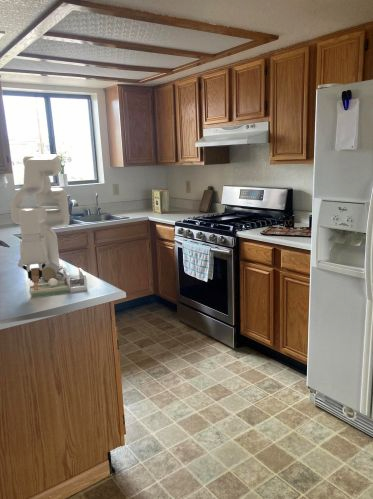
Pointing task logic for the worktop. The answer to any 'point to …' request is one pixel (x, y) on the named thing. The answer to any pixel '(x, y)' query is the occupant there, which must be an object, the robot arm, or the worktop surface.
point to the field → (48, 289)
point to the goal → (75, 281)
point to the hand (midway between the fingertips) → (35, 278)
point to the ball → (52, 282)
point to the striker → (35, 277)
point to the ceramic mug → (51, 272)
